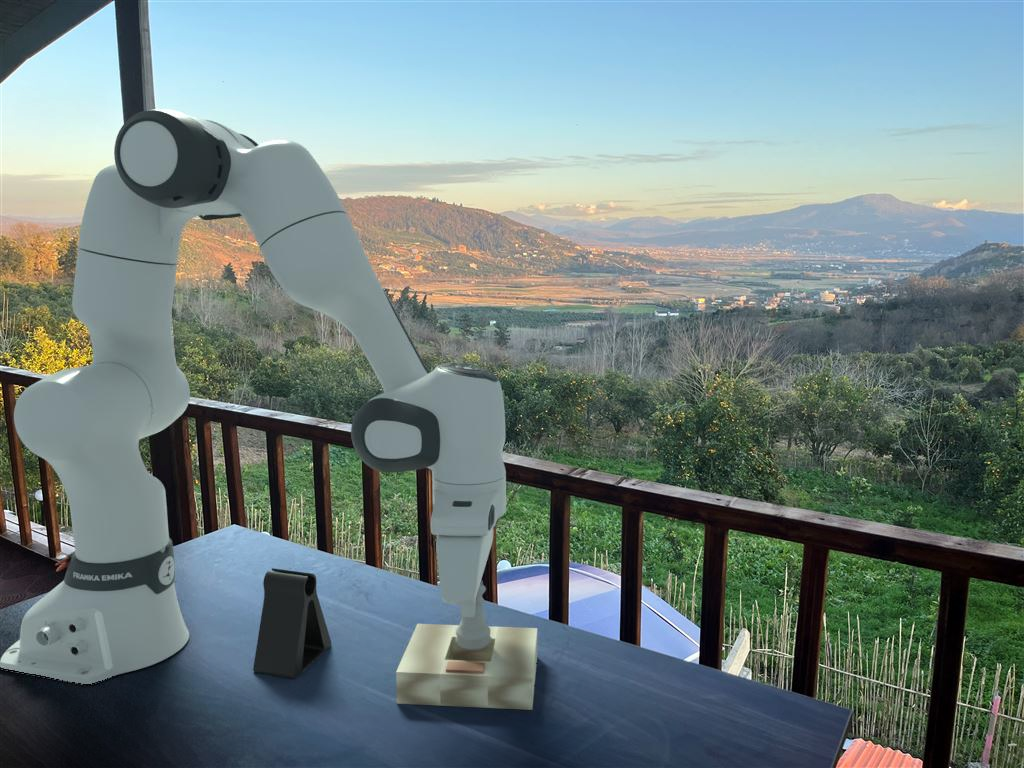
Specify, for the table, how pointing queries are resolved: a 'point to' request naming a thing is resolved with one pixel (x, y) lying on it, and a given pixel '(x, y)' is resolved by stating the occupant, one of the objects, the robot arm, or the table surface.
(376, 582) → the table surface
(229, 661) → the table surface
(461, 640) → the rook chess piece
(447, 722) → the table surface
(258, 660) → the phone stand
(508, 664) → the socket block
